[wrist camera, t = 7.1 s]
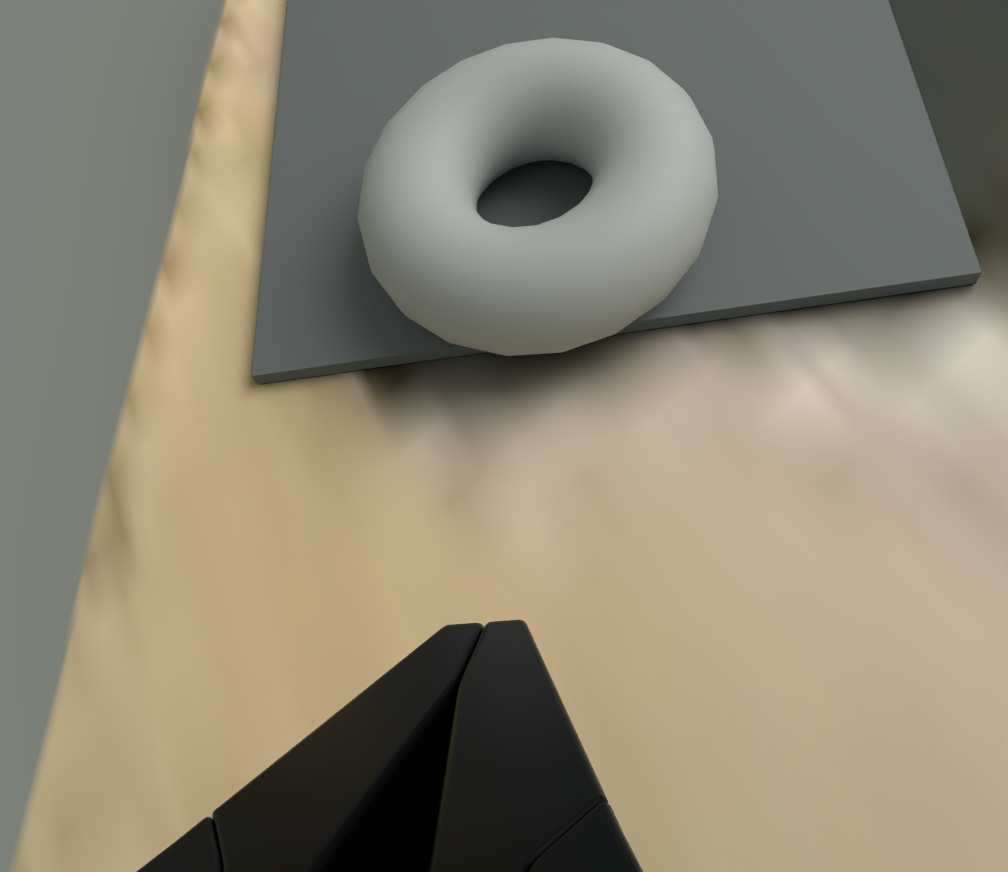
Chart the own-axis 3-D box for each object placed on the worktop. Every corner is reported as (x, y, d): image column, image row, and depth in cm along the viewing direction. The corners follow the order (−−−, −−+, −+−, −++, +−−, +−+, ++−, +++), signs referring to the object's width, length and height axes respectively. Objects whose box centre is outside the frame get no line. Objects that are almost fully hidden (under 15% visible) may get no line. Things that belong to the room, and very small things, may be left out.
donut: (343, 345, 21) (334, 60, 25) (388, 410, 24) (373, 146, 28) (765, 257, 19) (676, -26, 24) (755, 338, 22) (678, 73, 27)
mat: (975, 283, 22) (981, 272, 22) (259, 384, 26) (251, 376, 25) (821, -174, 31) (823, -189, 31) (299, -57, 34) (294, -68, 34)
